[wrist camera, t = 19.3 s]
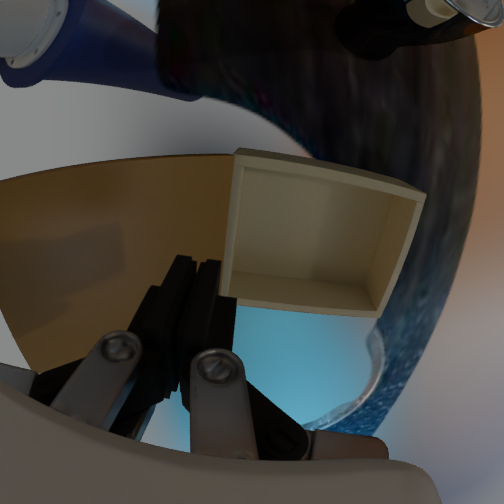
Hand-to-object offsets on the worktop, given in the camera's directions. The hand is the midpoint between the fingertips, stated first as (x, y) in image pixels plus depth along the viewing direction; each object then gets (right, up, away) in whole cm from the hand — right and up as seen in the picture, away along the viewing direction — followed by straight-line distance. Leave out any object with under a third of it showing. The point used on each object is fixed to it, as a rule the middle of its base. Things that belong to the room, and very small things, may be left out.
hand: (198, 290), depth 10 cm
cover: (-6, 0, +5) cm, 7 cm away
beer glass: (+12, +21, +7) cm, 26 cm away
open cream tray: (+8, +4, +15) cm, 18 cm away
